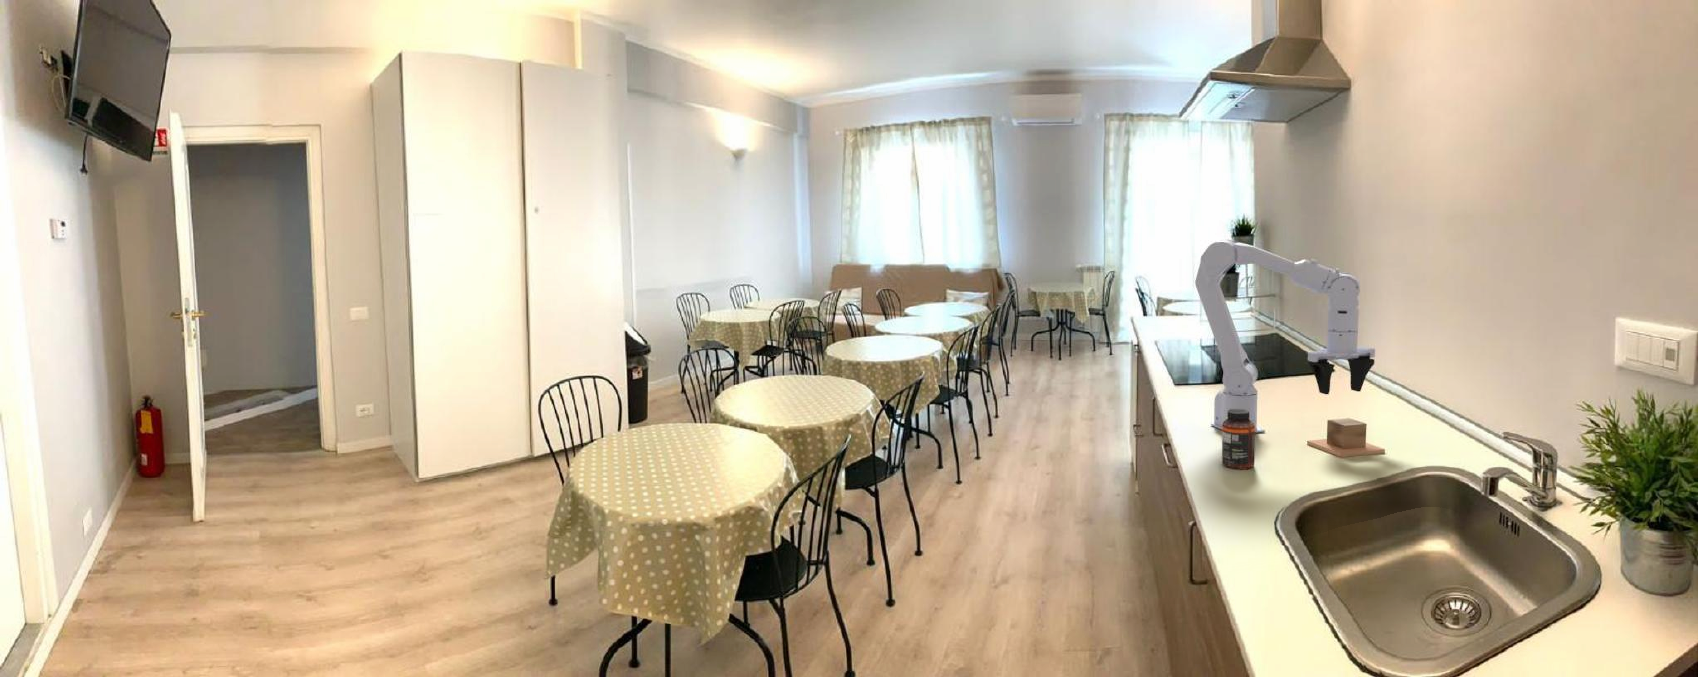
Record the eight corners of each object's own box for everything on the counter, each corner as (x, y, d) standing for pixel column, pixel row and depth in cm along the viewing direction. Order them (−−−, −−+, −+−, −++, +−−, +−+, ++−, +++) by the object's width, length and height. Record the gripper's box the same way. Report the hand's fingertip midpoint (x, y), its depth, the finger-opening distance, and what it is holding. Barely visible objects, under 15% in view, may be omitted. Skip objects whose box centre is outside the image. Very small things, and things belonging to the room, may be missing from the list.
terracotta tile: (1307, 444, 179) (1307, 440, 179) (1349, 440, 181) (1349, 436, 181) (1340, 457, 170) (1340, 453, 169) (1384, 452, 171) (1384, 449, 171)
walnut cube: (1326, 442, 177) (1327, 420, 176) (1348, 440, 178) (1348, 418, 177) (1343, 449, 172) (1344, 425, 171) (1365, 447, 173) (1366, 423, 172)
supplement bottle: (1247, 460, 170) (1248, 406, 169) (1259, 469, 164) (1260, 413, 163) (1217, 461, 171) (1218, 407, 169) (1227, 470, 165) (1228, 414, 163)
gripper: (1324, 334, 174) (1322, 398, 176) (1387, 330, 176) (1384, 393, 178) (1301, 330, 181) (1300, 391, 183) (1362, 326, 183) (1359, 386, 185)
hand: (1340, 392), depth 181 cm, fingers open, 7 cm apart
